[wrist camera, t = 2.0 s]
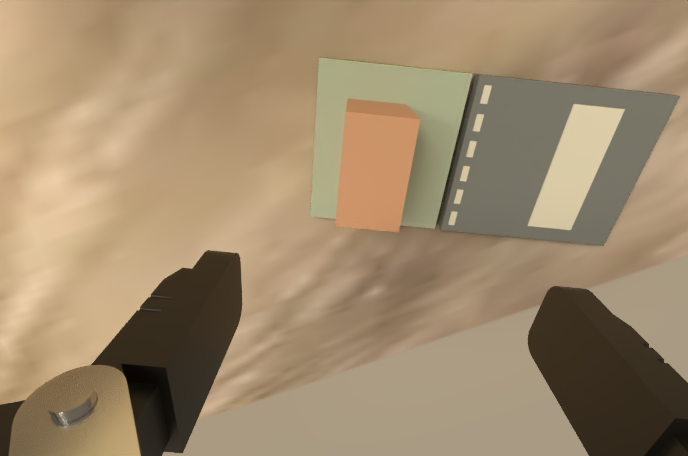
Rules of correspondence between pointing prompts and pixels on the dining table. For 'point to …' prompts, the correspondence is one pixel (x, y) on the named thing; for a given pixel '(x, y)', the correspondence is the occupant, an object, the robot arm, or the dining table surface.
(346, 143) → the green plate orange block
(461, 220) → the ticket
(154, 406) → the robot arm
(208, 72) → the dining table surface
